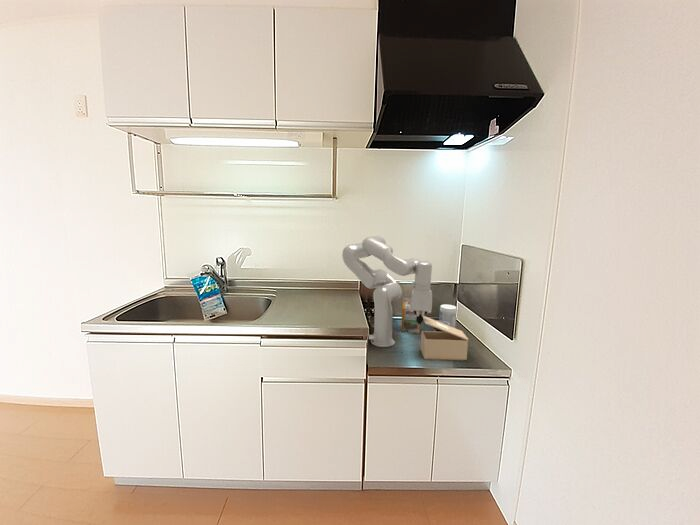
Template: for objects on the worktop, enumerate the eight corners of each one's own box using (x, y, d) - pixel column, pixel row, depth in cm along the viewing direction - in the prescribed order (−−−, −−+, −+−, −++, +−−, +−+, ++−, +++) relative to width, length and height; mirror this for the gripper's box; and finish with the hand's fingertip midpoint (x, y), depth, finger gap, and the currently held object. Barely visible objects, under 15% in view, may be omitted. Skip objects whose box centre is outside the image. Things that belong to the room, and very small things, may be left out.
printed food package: (401, 332, 199) (402, 300, 196) (403, 326, 209) (404, 296, 206) (419, 334, 196) (421, 302, 193) (421, 328, 206) (422, 297, 203)
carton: (424, 359, 163) (425, 339, 162) (420, 349, 174) (421, 331, 172) (466, 360, 162) (468, 340, 161) (460, 350, 173) (461, 332, 172)
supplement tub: (435, 330, 203) (436, 306, 200) (443, 326, 209) (445, 303, 207) (449, 334, 196) (451, 309, 193) (458, 330, 202) (459, 306, 200)
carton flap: (425, 323, 160) (425, 322, 160) (421, 316, 171) (421, 314, 171) (468, 340, 161) (468, 339, 161) (461, 332, 172) (462, 330, 171)
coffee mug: (449, 344, 181) (450, 326, 180) (432, 343, 183) (433, 325, 181) (447, 336, 193) (448, 319, 191) (431, 335, 194) (432, 318, 193)
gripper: (407, 288, 160) (404, 325, 163) (439, 290, 158) (436, 327, 162) (405, 284, 167) (403, 319, 170) (436, 286, 166) (433, 321, 169)
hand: (419, 323), depth 166 cm, fingers closed
